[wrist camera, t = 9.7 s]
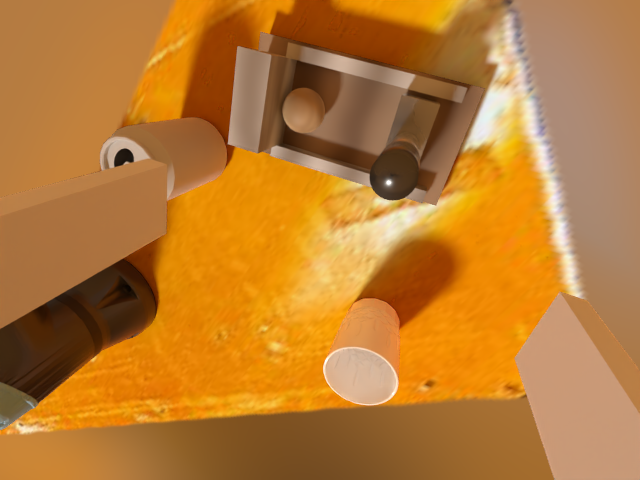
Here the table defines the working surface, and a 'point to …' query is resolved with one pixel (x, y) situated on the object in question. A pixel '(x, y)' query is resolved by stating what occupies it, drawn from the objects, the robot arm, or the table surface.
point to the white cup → (365, 354)
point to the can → (170, 151)
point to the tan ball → (303, 110)
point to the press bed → (343, 111)
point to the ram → (404, 148)
